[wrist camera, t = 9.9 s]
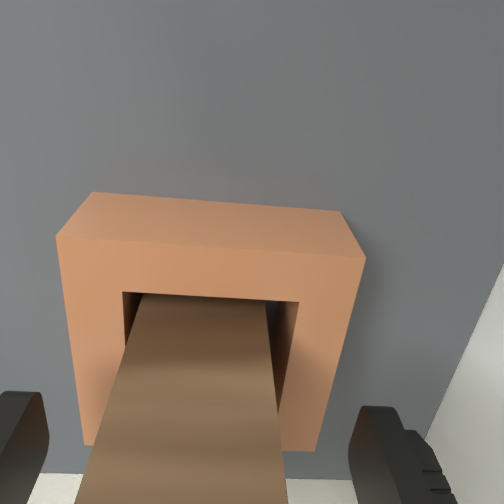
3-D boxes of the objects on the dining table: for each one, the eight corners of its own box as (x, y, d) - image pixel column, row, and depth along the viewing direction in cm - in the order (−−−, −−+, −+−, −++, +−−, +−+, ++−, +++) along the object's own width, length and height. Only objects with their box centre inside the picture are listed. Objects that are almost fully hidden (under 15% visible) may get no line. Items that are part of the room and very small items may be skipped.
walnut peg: (155, 256, 14) (23, 660, 5) (259, 263, 14) (306, 657, 5) (156, 338, 15) (58, 749, 7) (250, 342, 16) (272, 741, 7)
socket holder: (-193, -87, 10) (-396, -140, 7) (598, 13, 11) (738, 9, 8) (-17, 459, 19) (-65, 544, 16) (401, 469, 21) (431, 548, 18)
